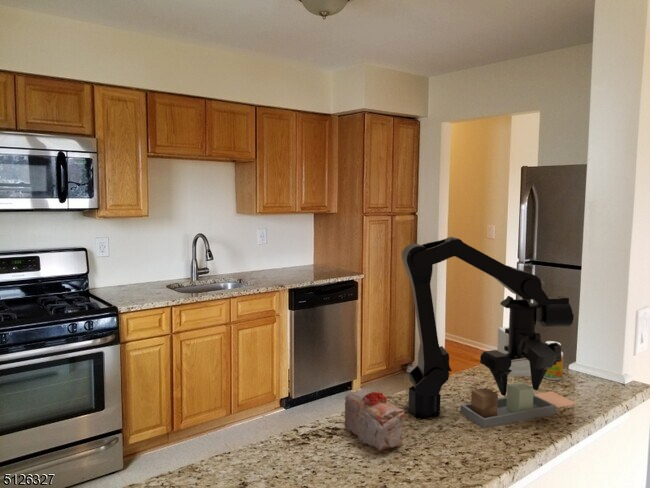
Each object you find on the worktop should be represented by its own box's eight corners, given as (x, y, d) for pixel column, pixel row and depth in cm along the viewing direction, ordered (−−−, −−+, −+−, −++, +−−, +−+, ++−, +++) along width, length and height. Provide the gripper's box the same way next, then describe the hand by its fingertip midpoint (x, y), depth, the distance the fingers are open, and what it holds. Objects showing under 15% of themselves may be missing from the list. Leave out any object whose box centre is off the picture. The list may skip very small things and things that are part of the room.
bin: (483, 431, 108) (483, 419, 108) (460, 415, 116) (460, 404, 115) (555, 416, 115) (556, 405, 115) (529, 402, 123) (530, 392, 123)
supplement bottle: (542, 379, 138) (543, 345, 137) (539, 372, 143) (541, 339, 142) (563, 381, 136) (565, 346, 135) (560, 374, 142) (562, 341, 141)
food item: (410, 447, 102) (410, 400, 101) (380, 458, 97) (380, 409, 96) (367, 421, 113) (367, 379, 112) (338, 431, 108) (338, 387, 107)
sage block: (518, 416, 114) (519, 390, 113) (506, 409, 118) (507, 384, 117) (532, 413, 115) (533, 388, 115) (520, 406, 119) (521, 381, 118)
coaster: (551, 411, 118) (551, 408, 118) (526, 398, 125) (526, 395, 125) (577, 405, 121) (577, 403, 121) (551, 393, 128) (551, 391, 128)
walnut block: (482, 423, 110) (483, 396, 110) (470, 415, 114) (471, 390, 114) (497, 420, 112) (497, 394, 111) (485, 413, 116) (486, 387, 115)
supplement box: (531, 378, 139) (533, 333, 138) (504, 378, 139) (506, 333, 138) (521, 369, 146) (523, 326, 145) (495, 369, 146) (497, 326, 145)
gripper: (514, 340, 104) (511, 413, 105) (582, 331, 110) (578, 400, 112) (479, 326, 114) (477, 393, 116) (544, 319, 121) (541, 382, 122)
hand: (519, 392), depth 116 cm, fingers open, 9 cm apart
